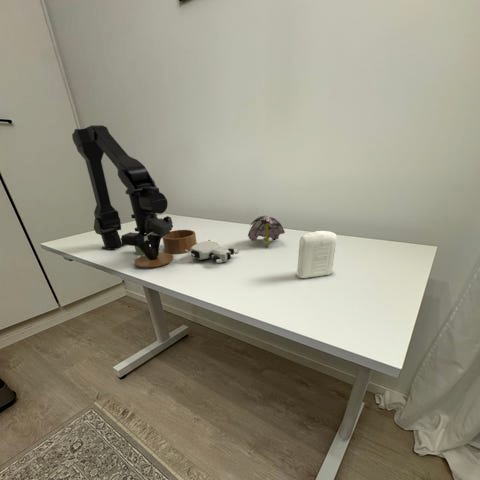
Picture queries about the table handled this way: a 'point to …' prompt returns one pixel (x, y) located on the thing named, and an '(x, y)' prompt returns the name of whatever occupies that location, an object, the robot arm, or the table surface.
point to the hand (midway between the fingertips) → (153, 257)
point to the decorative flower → (265, 229)
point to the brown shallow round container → (179, 241)
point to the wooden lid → (154, 259)
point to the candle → (138, 250)
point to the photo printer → (316, 254)
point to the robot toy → (211, 251)
